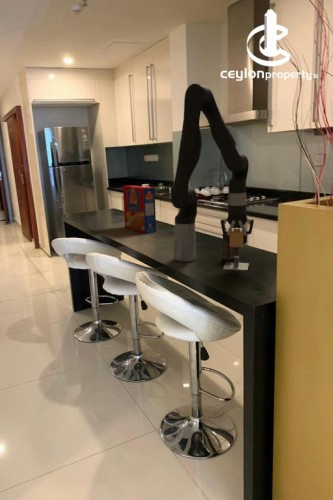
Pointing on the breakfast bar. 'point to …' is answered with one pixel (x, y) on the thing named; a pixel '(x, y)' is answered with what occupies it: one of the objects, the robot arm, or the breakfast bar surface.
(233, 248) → the box
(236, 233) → the orange toy brick
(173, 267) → the breakfast bar surface
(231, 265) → the square plate with peg
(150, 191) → the pasta box
